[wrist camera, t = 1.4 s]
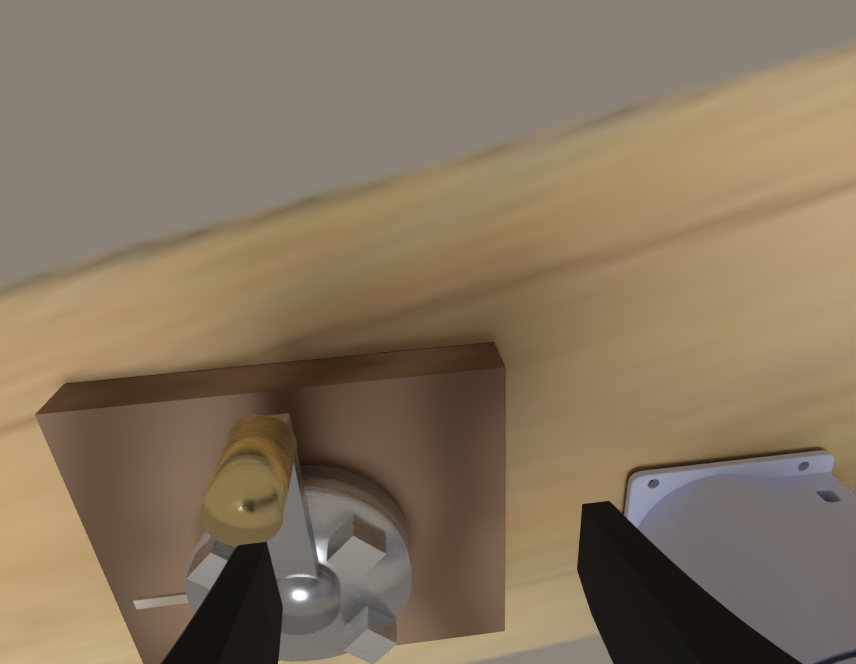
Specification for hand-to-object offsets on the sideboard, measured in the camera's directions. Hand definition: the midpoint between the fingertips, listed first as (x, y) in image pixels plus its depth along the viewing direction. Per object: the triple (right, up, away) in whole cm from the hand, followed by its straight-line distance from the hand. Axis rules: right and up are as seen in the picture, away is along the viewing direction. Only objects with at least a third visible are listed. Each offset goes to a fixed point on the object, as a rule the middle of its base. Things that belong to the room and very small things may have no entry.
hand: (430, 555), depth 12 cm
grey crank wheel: (-5, -2, +9) cm, 10 cm away
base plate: (-5, -2, +12) cm, 13 cm away
